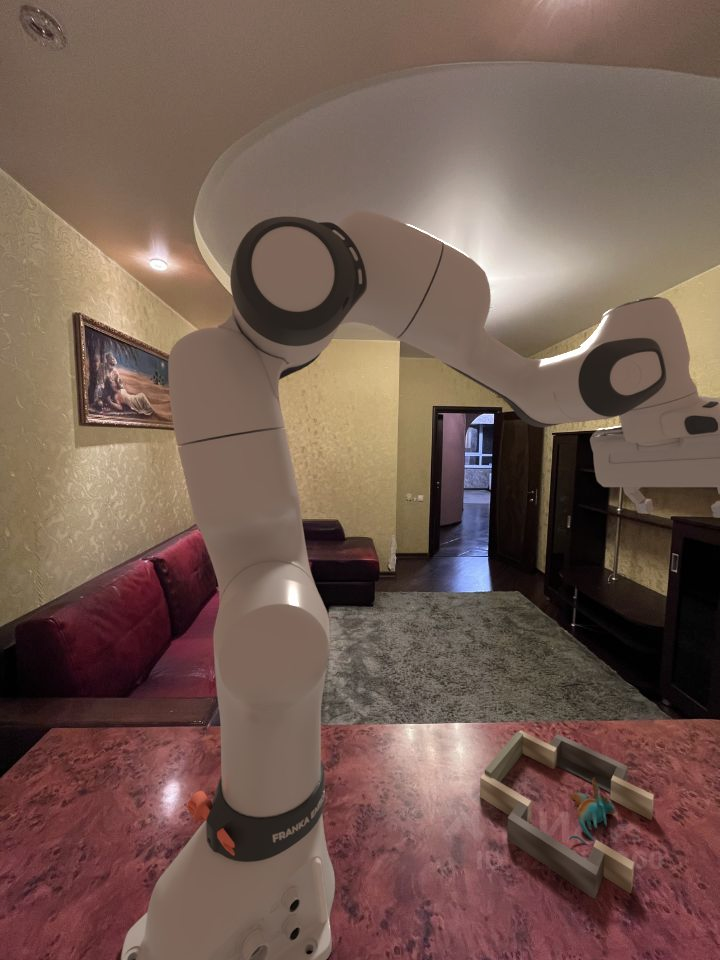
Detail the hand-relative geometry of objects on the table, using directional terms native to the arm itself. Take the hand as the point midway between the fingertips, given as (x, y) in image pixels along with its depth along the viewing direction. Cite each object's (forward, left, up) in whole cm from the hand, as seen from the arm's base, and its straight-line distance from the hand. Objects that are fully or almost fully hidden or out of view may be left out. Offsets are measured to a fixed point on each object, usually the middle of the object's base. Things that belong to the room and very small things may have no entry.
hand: (681, 514), depth 57 cm
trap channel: (-12, +11, -43) cm, 46 cm away
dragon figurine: (-12, +7, -43) cm, 45 cm away
